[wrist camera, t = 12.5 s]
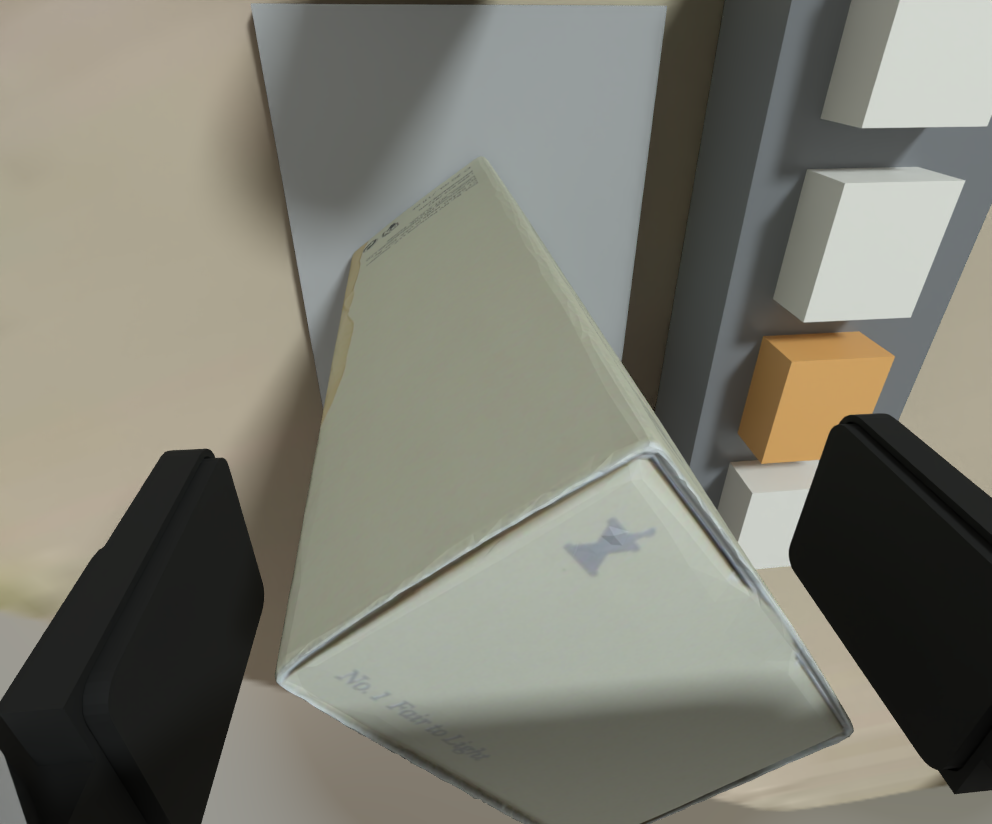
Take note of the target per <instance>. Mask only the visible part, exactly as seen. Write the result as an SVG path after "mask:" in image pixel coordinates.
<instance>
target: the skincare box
mask: <svg viewBox="0 0 992 824" xmlns="http://www.w3.org/2000/svg"><path fill="white" fill-rule="evenodd" d="M275 678H276V682H277V683H278V684H279V685H280V686H281V687H283V688H284V689H286V690H287V691H289V692H290V693H292V694H294V695H296V696H298V697H300V698H302V699H304V700H306V701H307V702H309V703H310V704H311V705H313V706H314V707H315V708H317V709H319V710H320V711H322V712H324V713H326V714H328V715H329V716H331V717H333V718H334V719H336V720H338V721H339V722H341V723H342V724H344V725H346V726H347V727H349V728H350V729H353V730H355V731H357V732H358V733H359V734H361V735H363V736H365V737H368V738H369V739H371V740H373V741H374V742H376V743H378V744H379V745H381V746H383V747H385V748H386V749H388V750H390V751H391V752H393V753H396V754H399V755H400V756H401V757H403V758H404V759H407V760H408V761H410V762H411V763H413V764H414V765H416V766H418V767H420V768H423V769H425V770H426V771H428V772H430V773H431V774H433V775H434V776H436V777H438V778H439V779H441V780H443V781H445V782H448V783H450V784H452V785H454V786H455V787H457V788H459V789H461V790H463V791H464V792H466V793H467V794H469V795H470V796H472V797H473V798H475V799H481V800H482V801H483V802H484V803H488V805H490V806H491V807H493V808H495V809H497V810H499V811H500V812H502V813H504V814H505V815H507V816H510V817H512V818H513V819H515V820H517V821H519V822H521V823H524V824H650V823H653V822H655V821H657V820H659V819H662V818H664V817H667V816H669V815H672V814H674V813H676V812H679V811H681V810H684V809H685V808H687V807H689V806H691V805H694V804H696V803H699V802H702V801H705V800H707V799H709V798H711V797H713V796H715V795H717V794H719V793H722V792H724V791H727V790H729V789H732V788H734V787H737V786H739V785H742V784H744V783H746V782H749V781H751V780H753V779H755V778H757V777H759V776H761V775H763V774H766V773H768V772H770V771H772V770H775V769H777V768H780V767H782V766H784V765H786V764H788V763H790V762H793V761H796V760H798V759H801V758H803V757H805V756H808V755H810V754H812V753H814V752H817V751H819V750H821V749H823V748H826V747H829V746H832V745H834V744H837V743H839V742H841V741H842V740H844V739H846V738H847V737H849V736H850V735H851V734H852V733H853V732H854V730H853V726H852V723H851V721H850V719H849V717H848V715H847V714H846V712H845V710H844V709H843V707H842V705H841V704H840V702H839V700H838V699H837V697H836V695H835V693H834V692H833V690H832V688H831V687H830V685H829V683H828V682H827V680H826V679H825V677H824V675H823V674H822V672H821V670H820V669H819V667H818V666H817V664H816V662H815V661H814V659H813V657H812V656H811V654H810V653H809V651H808V649H807V648H806V646H805V645H804V643H803V642H802V640H801V639H800V637H799V635H798V634H797V632H796V631H795V629H794V628H793V626H792V625H791V623H790V622H789V620H788V619H787V617H786V615H785V614H784V612H783V611H782V609H781V608H780V606H779V605H778V603H777V602H776V600H775V599H774V597H773V596H772V594H771V593H770V591H769V590H768V588H767V587H766V585H765V584H764V582H763V581H762V579H761V577H760V576H759V574H758V573H757V571H756V570H755V568H754V567H753V565H752V564H751V562H750V560H749V559H748V557H747V556H746V554H745V553H744V551H743V550H742V548H741V546H740V545H739V543H738V542H737V540H736V539H735V537H734V536H733V534H732V532H731V531H730V529H729V528H728V526H727V525H726V523H725V522H724V520H723V519H722V517H721V515H720V514H719V512H718V511H717V509H716V508H715V506H714V505H713V503H712V501H711V500H710V498H709V497H708V495H707V494H706V492H705V491H704V489H703V487H702V486H701V484H700V483H699V481H698V480H697V478H696V477H695V475H694V473H693V472H692V470H691V469H690V467H689V466H688V464H687V463H686V461H685V459H684V458H683V456H682V455H681V453H680V452H679V450H678V449H677V447H676V445H675V444H674V442H673V441H672V439H671V438H670V436H669V434H668V433H667V431H666V430H665V428H664V427H663V425H662V424H661V422H660V420H659V419H658V417H657V416H656V414H655V413H654V411H653V410H652V408H651V407H650V405H649V404H648V402H647V401H646V399H645V398H644V396H643V395H642V393H641V392H640V390H639V388H638V387H637V385H636V384H635V382H634V381H633V379H632V378H631V376H630V375H629V373H628V372H627V370H626V369H625V367H624V366H623V364H622V363H621V361H620V360H619V358H618V356H617V355H616V353H615V352H614V350H613V349H612V347H611V346H610V344H609V343H608V341H607V340H606V338H605V337H604V335H603V334H602V332H601V330H600V329H599V327H598V326H597V324H596V323H595V321H594V320H593V318H592V317H591V315H590V314H589V312H588V311H587V309H586V307H585V306H584V304H583V303H582V301H581V300H580V298H579V297H578V295H577V294H576V292H575V291H574V289H573V288H572V286H571V285H570V283H569V282H568V280H567V279H566V277H565V276H564V274H563V272H562V271H561V269H560V268H559V266H558V265H557V263H556V262H555V260H554V259H553V257H552V256H551V254H550V252H549V251H548V249H547V248H546V246H545V245H544V243H543V242H542V240H541V239H540V237H539V235H538V234H537V232H536V231H535V229H534V228H533V226H532V225H531V223H530V222H529V220H528V219H527V217H526V216H525V214H524V213H523V211H522V210H521V208H520V207H519V205H518V204H517V202H516V201H515V199H514V198H513V196H512V195H511V193H510V192H509V190H508V189H507V187H506V186H505V184H504V183H503V182H502V180H501V179H500V177H499V176H498V174H497V173H496V171H495V170H494V169H493V167H492V166H491V164H490V163H489V161H488V160H487V159H486V158H485V157H482V156H480V157H477V158H476V159H474V160H473V161H472V162H470V163H469V164H468V165H466V166H465V167H464V168H462V169H461V170H459V171H458V172H457V173H455V174H454V175H453V176H451V177H450V178H448V179H447V180H446V181H445V182H443V183H442V184H440V185H439V186H438V187H436V188H435V189H434V190H432V191H431V192H430V193H428V194H427V195H426V196H424V197H423V198H422V199H420V200H419V201H418V202H416V203H415V204H414V205H413V206H411V207H410V208H408V209H407V210H406V211H405V212H403V213H402V214H401V215H399V216H398V217H397V218H396V219H394V220H393V221H392V222H391V223H389V224H388V225H387V226H386V227H384V228H383V229H382V230H381V231H379V232H378V233H377V234H376V235H375V236H374V237H372V238H371V239H370V240H369V241H367V242H366V243H365V244H364V245H362V246H361V247H360V248H359V249H358V250H356V251H355V252H354V253H353V256H352V258H351V265H350V270H349V276H348V281H347V286H346V291H345V297H344V302H343V307H342V313H341V318H340V323H339V329H338V334H337V339H336V344H335V350H334V355H333V359H332V364H331V371H330V376H329V381H328V387H327V393H326V398H325V403H324V408H323V414H322V419H321V425H320V431H319V438H318V444H317V448H316V453H315V458H314V463H313V469H312V474H311V479H310V485H309V490H308V495H307V501H306V506H305V511H304V519H303V525H302V530H301V535H300V540H299V545H298V551H297V557H296V563H295V569H294V574H293V579H292V584H291V589H290V593H289V598H288V604H287V610H286V616H285V622H284V627H283V633H282V638H281V643H280V649H279V654H278V660H277V666H276V672H275Z"/></svg>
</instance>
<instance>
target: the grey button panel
mask: <svg viewBox="0 0 992 824" xmlns="http://www.w3.org/2000/svg"><path fill="white" fill-rule="evenodd" d="M251 8H252V14H253V20H254V25H255V31H256V36H257V42H258V48H259V53H260V59H261V64H262V70H263V76H264V81H265V87H266V92H267V98H268V104H269V109H270V115H271V120H272V126H273V131H274V137H275V143H276V148H277V154H278V159H279V165H280V171H281V176H282V182H283V187H284V193H285V199H286V204H287V210H288V215H289V221H290V227H291V232H292V238H293V243H294V249H295V254H296V260H297V266H298V271H299V277H300V282H301V288H302V294H303V299H304V305H305V310H306V316H307V322H308V327H309V333H310V338H311V344H312V350H313V355H314V361H315V366H316V372H317V377H318V383H319V389H320V394H321V400H322V405H323V408H324V403H325V398H326V393H327V387H328V381H329V376H330V371H331V364H332V359H333V355H334V350H335V344H336V339H337V334H338V329H339V323H340V318H341V313H342V307H343V302H344V297H345V291H346V286H347V281H348V276H349V270H350V265H351V258H352V256H353V253H354V252H355V251H356V250H358V249H359V248H360V247H361V246H362V245H364V244H365V243H366V242H367V241H369V240H370V239H371V238H372V237H374V236H375V235H376V234H377V233H378V232H379V231H381V230H382V229H383V228H384V227H386V226H387V225H388V224H389V223H391V222H392V221H393V220H394V219H396V218H397V217H398V216H399V215H401V214H402V213H403V212H405V211H406V210H407V209H408V208H410V207H411V206H413V205H414V204H415V203H416V202H418V201H419V200H420V199H422V198H423V197H424V196H426V195H427V194H428V193H430V192H431V191H432V190H434V189H435V188H436V187H438V186H439V185H440V184H442V183H443V182H445V181H446V180H447V179H448V178H450V177H451V176H453V175H454V174H455V173H457V172H458V171H459V170H461V169H462V168H464V167H465V166H466V165H468V164H469V163H470V162H472V161H473V160H474V159H476V158H477V157H480V156H482V157H485V158H486V159H487V160H488V161H489V163H490V164H491V166H492V167H493V169H494V170H495V171H496V173H497V174H498V176H499V177H500V179H501V180H502V182H503V183H504V184H505V186H506V187H507V189H508V190H509V192H510V193H511V195H512V196H513V198H514V199H515V201H516V202H517V204H518V205H519V207H520V208H521V210H522V211H523V213H524V214H525V216H526V217H527V219H528V220H529V222H530V223H531V225H532V226H533V228H534V229H535V231H536V232H537V234H538V235H539V237H540V239H541V240H542V242H543V243H544V245H545V246H546V248H547V249H548V251H549V252H550V254H551V256H552V257H553V259H554V260H555V262H556V263H557V265H558V266H559V268H560V269H561V271H562V272H563V274H564V276H565V277H566V279H567V280H568V282H569V283H570V285H571V286H572V288H573V289H574V291H575V292H576V294H577V295H578V297H579V298H580V300H581V301H582V303H583V304H584V306H585V307H586V309H587V311H588V312H589V314H590V315H591V317H592V318H593V320H594V321H595V323H596V324H597V326H598V327H599V329H600V330H601V332H602V334H603V335H604V337H605V338H606V340H607V341H608V343H609V344H610V346H611V347H612V349H613V350H614V352H615V353H616V355H617V356H618V358H619V360H620V361H621V362H622V354H623V346H624V338H625V331H626V323H627V315H628V307H629V299H630V292H631V284H632V276H633V268H634V260H635V253H636V245H637V237H638V229H639V221H640V214H641V206H642V198H643V190H644V182H645V175H646V167H647V159H648V151H649V143H650V136H651V128H652V120H653V112H654V104H655V97H656V89H657V81H658V73H659V65H660V58H661V50H662V42H663V34H664V26H665V19H666V11H667V6H601V5H425V4H251ZM991 204H992V0H725V3H724V9H723V15H722V21H721V27H720V33H719V39H718V44H717V50H716V56H715V62H714V68H713V74H712V80H711V86H710V91H709V97H708V103H707V109H706V115H705V121H704V127H703V133H702V138H701V144H700V150H699V156H698V162H697V168H696V174H695V180H694V185H693V191H692V197H691V203H690V209H689V215H688V221H687V227H686V232H685V238H684V244H683V250H682V256H681V262H680V268H679V274H678V279H677V285H676V291H675V297H674V303H673V309H672V315H671V321H670V326H669V332H668V338H667V344H666V350H665V356H664V362H663V368H662V374H661V379H660V385H659V391H658V397H657V403H656V409H655V414H656V416H657V417H658V419H659V420H660V422H661V424H662V425H663V427H664V428H665V430H666V431H667V433H668V434H669V436H670V438H671V439H672V441H673V442H674V444H675V445H676V447H677V449H678V450H679V452H680V453H681V455H682V456H683V458H684V459H685V461H686V463H687V464H688V466H689V467H690V469H691V470H692V472H693V473H694V475H695V477H696V478H697V480H698V481H699V483H700V484H701V486H702V487H703V489H704V491H705V492H706V494H707V495H708V497H709V498H710V500H711V501H712V503H713V505H714V506H715V508H716V509H717V511H718V512H719V514H720V515H721V517H722V519H723V520H724V522H725V523H726V525H727V526H728V528H729V529H730V531H731V532H732V534H733V536H734V537H735V539H736V540H737V542H738V543H739V545H740V546H741V548H742V550H743V551H744V553H745V554H746V556H747V557H748V559H749V560H750V562H751V564H752V565H753V567H754V568H755V569H762V568H774V567H785V566H791V564H790V561H789V546H790V543H791V540H792V538H793V535H794V532H795V529H796V526H797V523H798V520H799V518H800V515H801V512H802V509H803V506H804V503H805V500H806V498H807V495H808V492H809V489H810V486H811V483H812V481H813V478H814V475H815V472H816V469H817V466H818V463H819V461H820V458H821V455H822V452H823V449H824V446H825V443H826V441H827V438H828V435H829V432H830V430H831V429H832V428H833V427H834V426H835V425H838V424H839V423H840V421H841V420H842V419H843V418H844V417H845V416H848V415H856V414H875V413H885V414H889V415H891V416H892V417H894V418H895V419H896V420H899V418H900V415H901V413H902V411H903V408H904V406H905V404H906V401H907V399H908V397H909V394H910V392H911V390H912V387H913V385H914V383H915V380H916V378H917V376H918V373H919V371H920V369H921V366H922V364H923V362H924V359H925V357H926V355H927V352H928V350H929V348H930V346H931V343H932V341H933V339H934V336H935V334H936V332H937V329H938V327H939V325H940V322H941V320H942V318H943V315H944V313H945V311H946V308H947V306H948V304H949V301H950V299H951V297H952V294H953V292H954V290H955V287H956V285H957V283H958V280H959V278H960V276H961V273H962V271H963V269H964V267H965V264H966V262H967V260H968V257H969V255H970V253H971V250H972V248H973V246H974V243H975V241H976V239H977V236H978V234H979V232H980V229H981V227H982V225H983V222H984V220H985V218H986V215H987V213H988V211H989V208H990V206H991Z"/></svg>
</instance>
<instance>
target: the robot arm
mask: <svg viewBox="0 0 992 824" xmlns="http://www.w3.org/2000/svg"><path fill="white" fill-rule="evenodd" d="M789 561H790V564H791V567H792V569H793V571H794V572H795V574H796V575H797V577H798V578H799V579H800V581H801V582H802V584H803V585H804V587H805V588H806V590H807V591H808V593H809V594H810V596H811V597H812V599H813V600H814V601H815V603H816V604H817V606H818V607H819V609H820V610H821V612H822V613H823V615H824V616H825V618H826V619H827V621H828V622H829V623H830V625H831V626H832V628H833V629H834V631H835V632H836V634H837V635H838V637H839V638H840V640H841V641H842V643H843V644H844V645H845V647H846V648H847V650H848V651H849V653H850V654H851V656H852V657H853V659H854V660H855V662H856V663H857V665H858V666H859V667H860V669H861V670H862V672H863V673H864V675H865V676H866V678H867V679H868V681H869V682H870V684H871V685H872V687H873V688H874V689H875V691H876V692H877V694H878V695H879V697H880V698H881V700H882V701H883V703H884V704H885V706H886V707H887V709H888V710H889V711H890V713H891V714H892V716H893V717H894V719H895V720H896V722H897V723H898V725H899V726H900V728H901V729H902V731H903V732H904V733H905V735H906V736H907V738H908V739H909V741H910V742H911V744H912V745H913V747H914V748H915V750H916V751H917V753H918V754H919V755H920V757H921V758H922V759H923V760H924V762H925V763H927V764H928V765H929V766H930V767H932V768H934V769H936V770H938V771H939V772H940V774H941V775H942V777H943V778H944V780H945V781H946V782H947V784H948V785H949V787H950V788H951V790H952V791H953V793H954V794H960V793H969V792H978V791H988V790H992V498H991V497H990V496H989V495H988V494H986V493H985V492H984V491H983V490H981V489H980V488H979V487H978V486H977V485H975V484H974V483H973V482H972V481H970V480H969V479H968V478H967V477H966V476H964V475H963V474H962V473H961V472H960V471H958V470H957V469H956V468H955V467H953V466H952V465H951V464H950V463H949V462H947V461H946V460H945V459H944V458H943V457H941V456H940V455H939V454H938V453H936V452H935V451H934V450H933V449H932V448H930V447H929V446H928V445H927V444H925V443H924V442H923V441H922V440H921V439H919V438H918V437H917V436H916V435H915V434H913V433H912V432H911V431H910V430H908V429H907V428H906V427H905V426H904V425H902V424H901V423H900V422H899V421H898V420H896V419H895V418H894V417H892V416H891V415H889V414H885V413H875V414H856V415H848V416H845V417H844V418H843V419H842V420H841V421H840V423H839V424H838V425H835V426H834V427H833V428H832V429H831V430H830V432H829V435H828V438H827V441H826V443H825V446H824V449H823V452H822V455H821V458H820V461H819V463H818V466H817V469H816V472H815V475H814V478H813V481H812V483H811V486H810V489H809V492H808V495H807V498H806V500H805V503H804V506H803V509H802V512H801V515H800V518H799V520H798V523H797V526H796V529H795V532H794V535H793V538H792V540H791V543H790V546H789ZM263 603H264V588H263V583H262V579H261V576H260V572H259V569H258V566H257V562H256V559H255V555H254V552H253V548H252V545H251V541H250V538H249V534H248V531H247V527H246V524H245V521H244V517H243V514H242V510H241V507H240V503H239V500H238V496H237V493H236V489H235V486H234V482H233V479H232V476H231V472H230V469H229V466H228V463H227V461H226V460H225V459H224V458H215V456H214V454H213V453H212V451H211V450H209V449H192V450H173V451H167V452H165V453H164V454H163V455H162V456H161V457H160V459H159V461H158V462H157V464H156V465H155V467H154V468H153V470H152V472H151V473H150V475H149V476H148V478H147V480H146V481H145V483H144V484H143V486H142V487H141V489H140V491H139V492H138V494H137V495H136V497H135V499H134V500H133V502H132V503H131V505H130V507H129V508H128V510H127V511H126V513H125V514H124V516H123V518H122V519H121V521H120V522H119V524H118V526H117V527H116V529H115V530H114V532H113V533H112V535H111V537H110V538H109V540H108V541H107V543H106V545H105V546H104V547H103V548H101V549H100V550H99V551H98V552H97V553H96V554H95V555H94V556H93V558H92V559H91V560H90V562H89V564H88V565H87V567H86V568H85V570H84V571H83V573H82V574H81V576H80V578H79V579H78V581H77V582H76V584H75V585H74V587H73V589H72V590H71V592H70V593H69V595H68V596H67V598H66V599H65V601H64V603H63V604H62V606H61V607H60V609H59V610H58V612H57V614H56V615H55V617H54V618H53V620H52V621H51V623H50V624H49V626H48V628H47V629H46V631H45V632H44V634H43V635H42V637H41V639H40V640H39V642H38V643H37V645H36V647H35V648H34V649H33V651H32V653H31V654H30V656H29V657H28V659H27V660H26V662H25V664H24V665H23V667H22V668H21V670H20V671H19V673H18V675H17V676H16V678H15V679H14V681H13V682H12V684H11V685H10V687H9V689H8V690H7V692H6V693H5V695H4V696H3V698H2V700H1V701H0V824H201V822H202V818H203V815H204V812H205V808H206V805H207V801H208V798H209V794H210V791H211V787H212V784H213V780H214V777H215V773H216V770H217V766H218V763H219V759H220V755H221V752H222V749H223V745H224V742H225V738H226V735H227V731H228V728H229V724H230V721H231V718H232V714H233V710H234V707H235V703H236V700H237V696H238V693H239V689H240V686H241V683H242V679H243V676H244V672H245V669H246V665H247V662H248V658H249V655H250V651H251V648H252V644H253V641H254V637H255V634H256V630H257V627H258V623H259V620H260V616H261V613H262V609H263Z"/></svg>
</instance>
